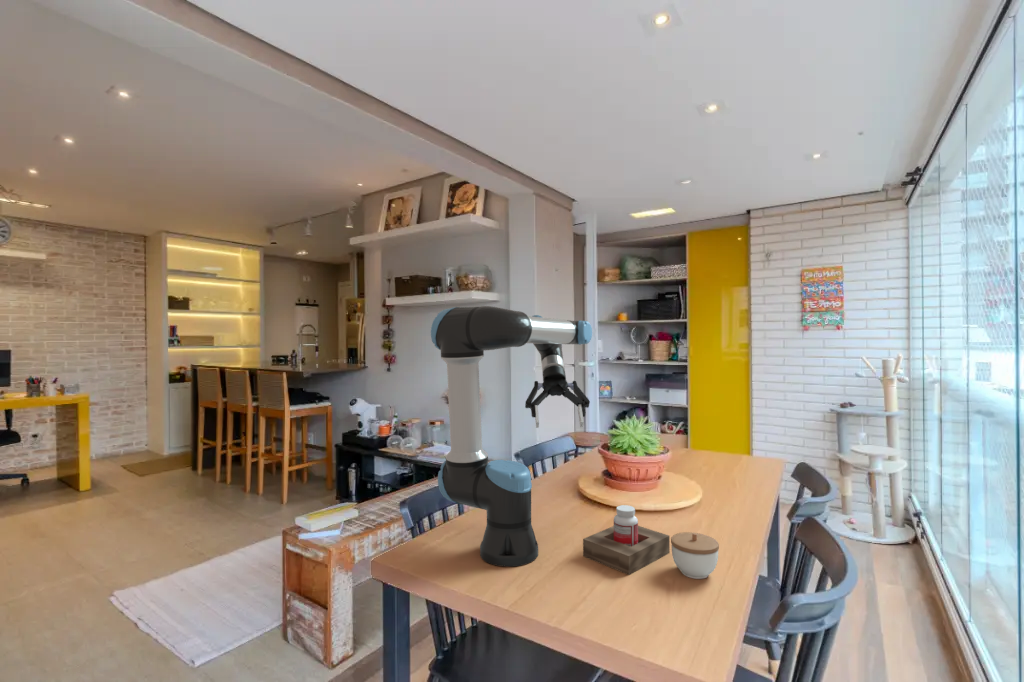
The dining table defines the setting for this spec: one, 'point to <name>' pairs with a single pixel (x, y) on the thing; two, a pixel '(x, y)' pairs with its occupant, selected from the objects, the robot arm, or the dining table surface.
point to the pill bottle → (626, 526)
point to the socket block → (626, 549)
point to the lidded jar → (694, 554)
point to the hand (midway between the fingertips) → (559, 424)
